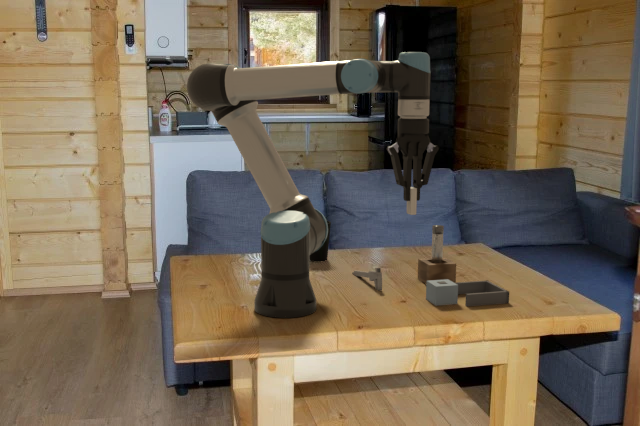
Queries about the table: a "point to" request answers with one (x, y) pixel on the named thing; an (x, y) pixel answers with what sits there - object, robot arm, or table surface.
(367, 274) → the caliper
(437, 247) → the cylinder
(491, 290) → the corral
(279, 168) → the robot arm
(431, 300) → the block
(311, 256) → the cup
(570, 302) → the table surface
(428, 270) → the bore block
